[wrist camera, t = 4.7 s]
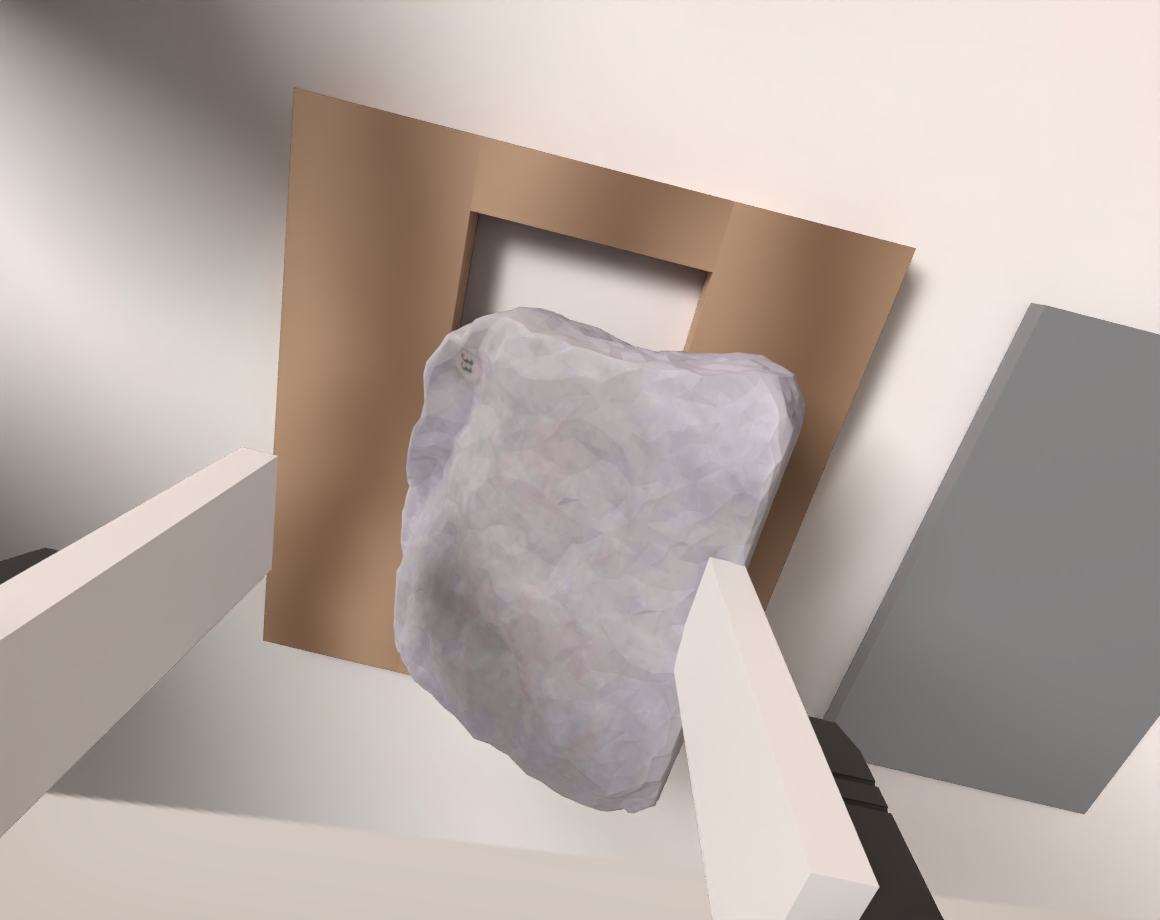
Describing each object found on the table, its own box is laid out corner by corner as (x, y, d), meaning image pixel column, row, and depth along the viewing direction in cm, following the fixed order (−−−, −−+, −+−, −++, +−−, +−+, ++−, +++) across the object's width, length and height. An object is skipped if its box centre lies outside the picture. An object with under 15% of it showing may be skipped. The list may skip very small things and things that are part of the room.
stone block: (470, 608, 22) (704, 779, 17) (355, 656, 18) (611, 895, 13) (534, 287, 19) (856, 377, 13) (407, 264, 15) (789, 377, 10)
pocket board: (278, 623, 21) (263, 640, 21) (313, 96, 16) (294, 87, 15) (704, 724, 22) (708, 745, 21) (898, 247, 16) (915, 248, 15)
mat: (813, 738, 22) (819, 751, 21) (1030, 303, 16) (1046, 305, 16) (1072, 799, 22) (1084, 814, 21) (1374, 391, 16) (1401, 396, 16)
